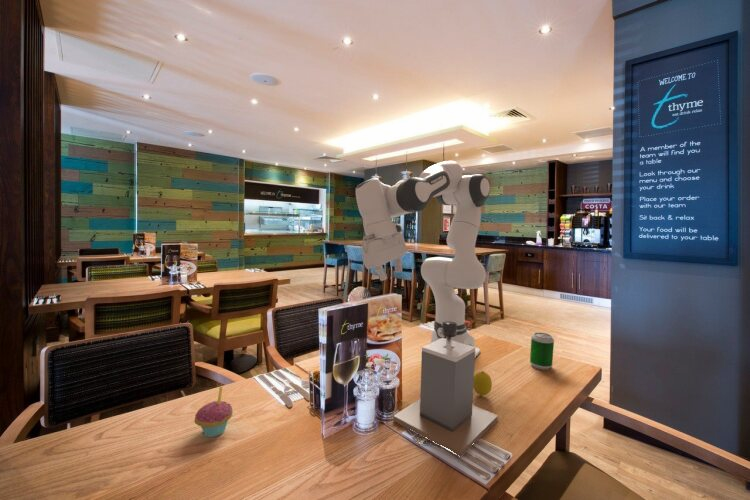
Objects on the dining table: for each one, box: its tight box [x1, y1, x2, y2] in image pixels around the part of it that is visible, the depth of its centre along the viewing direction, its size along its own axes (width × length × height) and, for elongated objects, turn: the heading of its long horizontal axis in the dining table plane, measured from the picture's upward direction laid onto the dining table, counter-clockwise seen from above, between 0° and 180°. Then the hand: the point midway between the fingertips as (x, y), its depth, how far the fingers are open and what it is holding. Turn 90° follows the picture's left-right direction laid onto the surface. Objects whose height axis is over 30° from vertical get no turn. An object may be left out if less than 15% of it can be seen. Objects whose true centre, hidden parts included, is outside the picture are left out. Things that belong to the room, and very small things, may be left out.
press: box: [392, 338, 499, 458], centre depth 91 cm, size 20×20×20 cm
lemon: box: [473, 370, 493, 397], centre depth 104 cm, size 6×6×8 cm
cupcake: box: [194, 383, 233, 438], centre depth 85 cm, size 9×8×12 cm
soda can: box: [529, 332, 555, 371], centre depth 126 cm, size 8×8×12 cm
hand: (391, 276), depth 104 cm, fingers open, 8 cm apart
